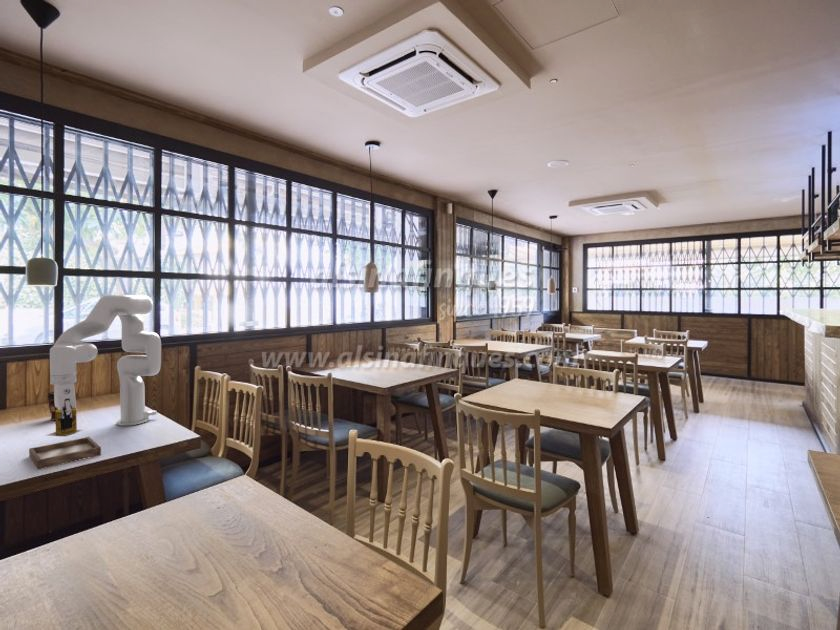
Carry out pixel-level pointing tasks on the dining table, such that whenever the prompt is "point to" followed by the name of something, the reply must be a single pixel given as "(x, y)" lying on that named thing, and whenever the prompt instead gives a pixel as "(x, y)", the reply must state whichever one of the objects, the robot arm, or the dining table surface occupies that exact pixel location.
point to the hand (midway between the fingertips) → (64, 426)
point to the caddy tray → (64, 452)
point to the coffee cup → (52, 405)
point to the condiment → (58, 424)
